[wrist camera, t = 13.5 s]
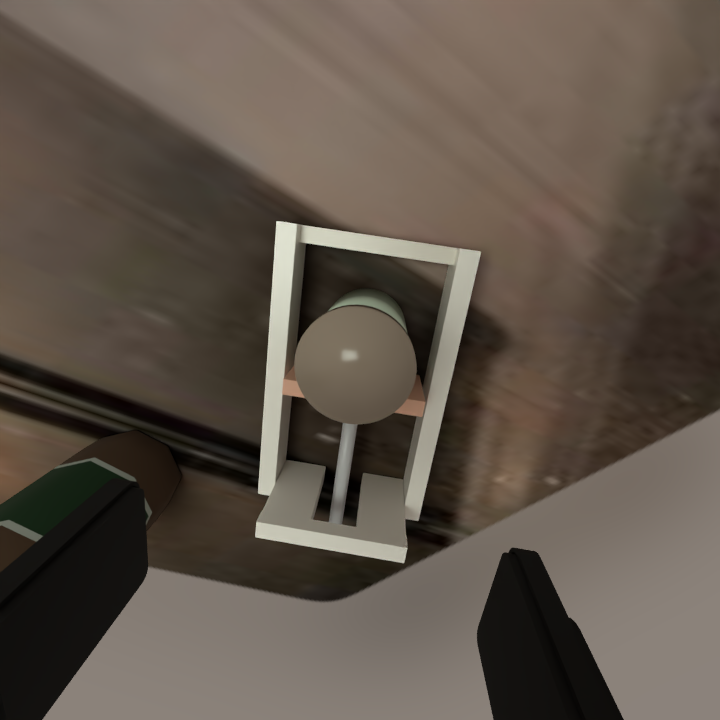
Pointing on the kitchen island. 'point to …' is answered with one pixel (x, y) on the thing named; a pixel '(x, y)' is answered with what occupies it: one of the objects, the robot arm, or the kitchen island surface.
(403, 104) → the kitchen island surface
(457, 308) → the frame
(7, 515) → the beer bottle
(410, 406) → the pusher
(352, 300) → the jar
